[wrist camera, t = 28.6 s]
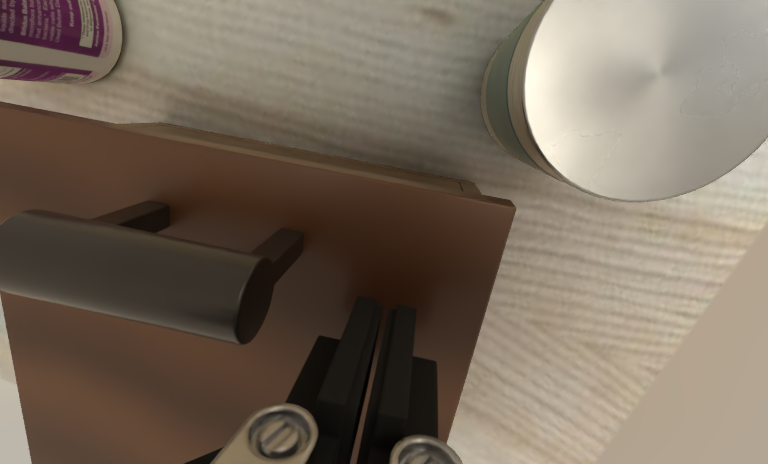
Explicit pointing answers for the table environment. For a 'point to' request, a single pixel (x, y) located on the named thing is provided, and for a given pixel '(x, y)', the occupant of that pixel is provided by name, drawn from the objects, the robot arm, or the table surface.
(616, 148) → the can
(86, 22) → the pill bottle
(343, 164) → the chest
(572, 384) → the table surface
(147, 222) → the lid
